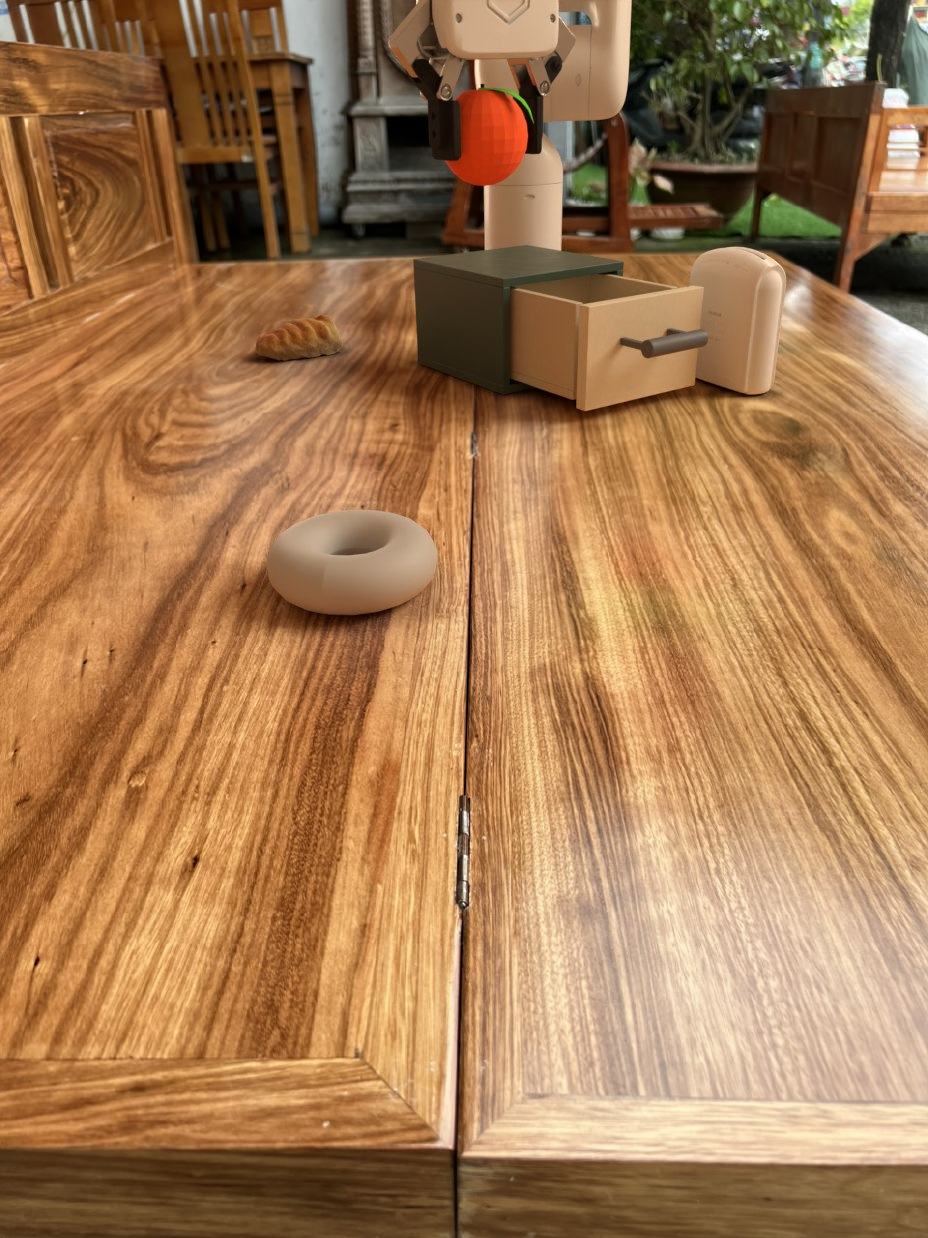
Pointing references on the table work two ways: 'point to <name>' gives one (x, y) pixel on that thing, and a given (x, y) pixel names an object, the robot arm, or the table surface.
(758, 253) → the photo printer
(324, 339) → the pastry
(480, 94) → the clementine
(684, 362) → the drawer
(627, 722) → the table surface
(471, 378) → the cabinet
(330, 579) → the donut
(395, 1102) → the table surface
